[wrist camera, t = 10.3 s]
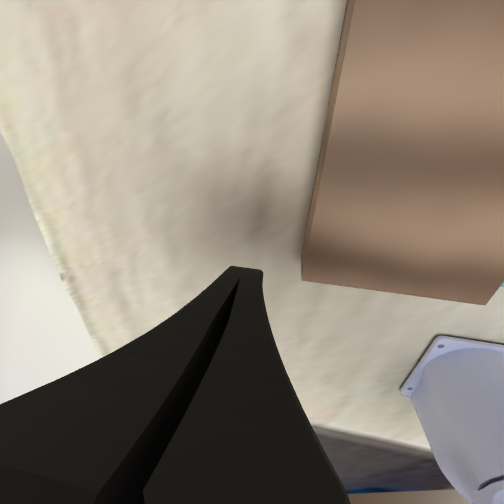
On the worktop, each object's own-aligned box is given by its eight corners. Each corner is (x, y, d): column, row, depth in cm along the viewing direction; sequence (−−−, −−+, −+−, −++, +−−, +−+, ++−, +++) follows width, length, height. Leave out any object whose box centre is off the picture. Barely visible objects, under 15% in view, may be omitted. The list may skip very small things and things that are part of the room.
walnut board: (457, 278, 17) (485, 305, 15) (301, 258, 19) (301, 280, 16) (655, -33, 9) (790, -90, 7) (351, -23, 11) (368, -67, 8)
